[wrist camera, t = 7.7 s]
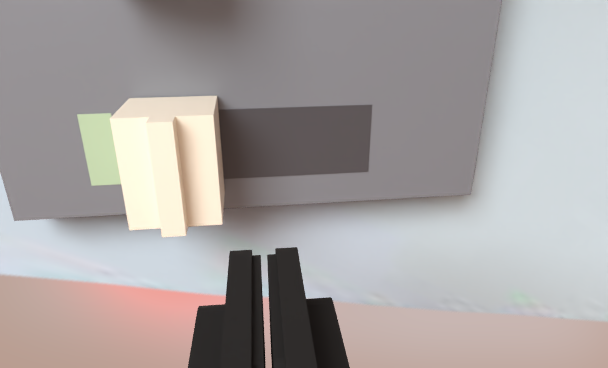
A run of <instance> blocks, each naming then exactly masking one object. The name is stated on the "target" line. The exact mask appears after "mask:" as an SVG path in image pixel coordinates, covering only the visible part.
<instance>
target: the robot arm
mask: <svg viewBox="0 0 608 368" xmlns="http://www.w3.org/2000/svg"><path fill="white" fill-rule="evenodd" d="M267 257H268V283H269V309H270V334H271V354H272V355H271V357H272V368H350V367H349V363H348V359H347V356H346V351H345V347H344V343H343V339H342V335H341V332H340V328H339V324H338V320H337V316H336V312H335V308H334V304H333V300H332V298H331V297H330V298H315V299H306V297H305V291H304V285H303V279H302V273H301V267H300V261H299V256H298V250H297V247H295V248H277V249H276V254H272V255H267ZM264 344H265V342H264V321H263V298H262V277H261V256H260V255H255V256H252V250H241V251H230V255H229V267H228V279H227V291H226V303H225V304H224V305H209V306H199V308H198V311H197V317H196V323H195V328H194V334H193V341H192V347H191V352H190V358H189V364H188V368H265V345H264Z"/></svg>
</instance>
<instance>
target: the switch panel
mask: <svg viewBox="0 0 608 368" xmlns="http://www.w3.org/2000/svg"><path fill="white" fill-rule="evenodd" d="M501 3H502V0H0V172H1V176H2V179H3V183H4V186H5V190H6V193H7V197H8V200H9V204H10V207H11V210H12V214H13V217H14V221H19V220H36V219H54V218H71V217H88V216H106V215H123V214H126V208H125V202H124V197H123V191H122V185H121V180H120V174H119V168H118V163H117V157H116V151H115V146H114V140H113V134H112V129H111V123H110V118H111V117H112V116H113V115H114V114H115V113H116V111H117V110H118V109H119V108H120V107H121V106H122V105H123V104H124V103H125V102H126V101H127V100H128V99H129V98H152V97H186V96H217V99H218V112H219V124H220V137H221V150H222V163H223V176H224V189H225V196H224V209H227V208H244V207H261V206H279V205H296V204H313V203H330V202H348V201H365V200H382V199H400V198H417V197H434V196H452V195H469V194H471V191H472V184H473V178H474V172H475V166H476V159H477V153H478V147H479V141H480V134H481V128H482V122H483V116H484V109H485V103H486V97H487V91H488V84H489V78H490V72H491V65H492V59H493V53H494V47H495V40H496V34H497V28H498V22H499V15H500V9H501Z"/></svg>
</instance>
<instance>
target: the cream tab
mask: <svg viewBox="0 0 608 368" xmlns="http://www.w3.org/2000/svg"><path fill="white" fill-rule="evenodd" d="M110 123H111V129H112V134H113V140H114V146H115V151H116V157H117V163H118V168H119V174H120V180H121V185H122V191H123V197H124V202H125V208H126V214H127V219H128V225H129V230H142V229H158V228H161V234H162V237H174V236H186V234H187V229H188V227H190V226H207V225H222V223H223V209H224V196H225V189H224V176H223V163H222V150H221V137H220V124H219V112H218V99H217V96H186V97H152V98H129V99H128V100H127V101H126V102H125V103H124V104H123V105H122V106H121V107H120V108H119V109H118V110H117V111H116V113H115V114H114V115H113V116H112V117H111V118H110Z"/></svg>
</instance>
